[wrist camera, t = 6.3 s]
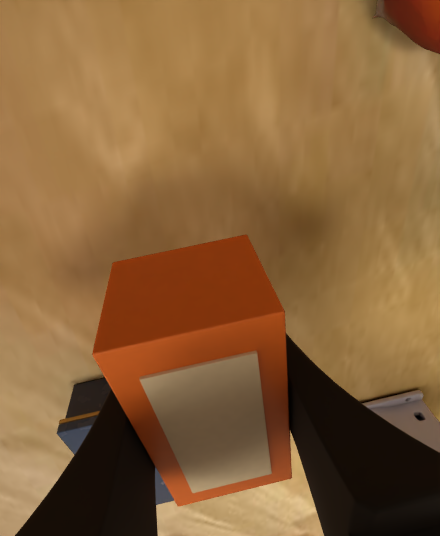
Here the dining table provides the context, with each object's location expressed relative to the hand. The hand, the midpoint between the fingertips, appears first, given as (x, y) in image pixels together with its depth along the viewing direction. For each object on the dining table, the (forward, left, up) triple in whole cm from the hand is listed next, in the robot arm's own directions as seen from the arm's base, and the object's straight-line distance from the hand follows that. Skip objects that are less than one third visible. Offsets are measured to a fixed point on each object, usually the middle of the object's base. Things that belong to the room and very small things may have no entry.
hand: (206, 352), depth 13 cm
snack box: (0, 0, -1) cm, 1 cm away
